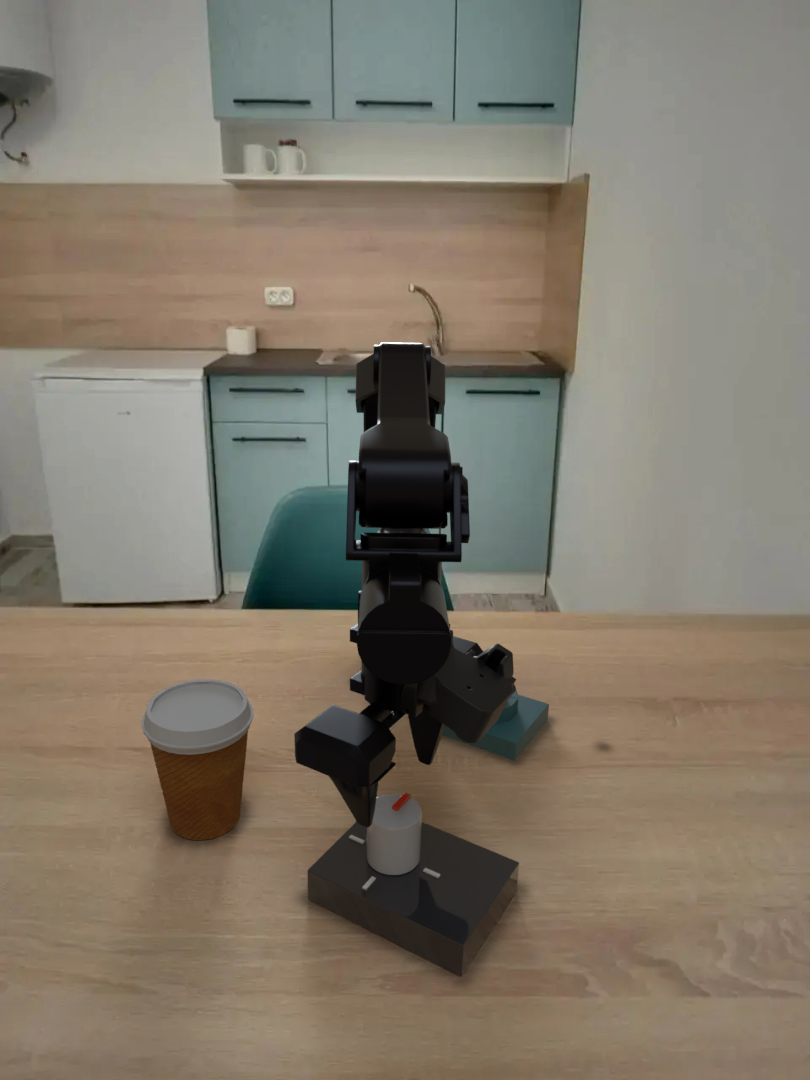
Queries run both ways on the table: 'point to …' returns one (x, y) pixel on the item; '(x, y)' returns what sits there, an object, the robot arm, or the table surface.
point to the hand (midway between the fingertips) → (396, 792)
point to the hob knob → (394, 834)
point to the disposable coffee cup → (200, 753)
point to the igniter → (511, 727)
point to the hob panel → (419, 894)
